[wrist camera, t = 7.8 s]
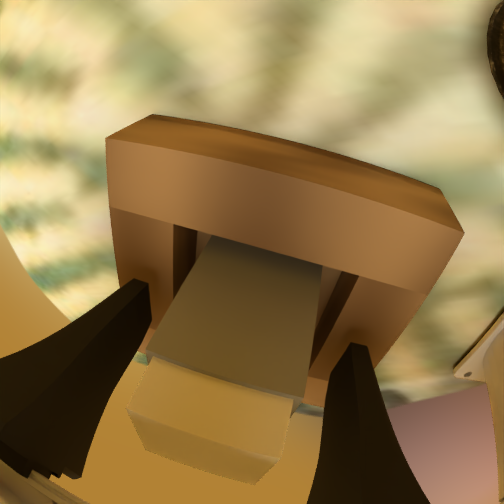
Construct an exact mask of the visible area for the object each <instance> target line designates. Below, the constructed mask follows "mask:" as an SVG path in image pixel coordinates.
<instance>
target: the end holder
mask: <svg viewBox="0 0 504 504" xmlns="http://www.w3.org/2000/svg"><path fill="white" fill-rule="evenodd" d="M105 141H106V166H107V183H108V196H109V208H110V218H111V227H112V236H113V244H114V252H115V259H116V266H117V273H118V279H119V285H120V288H121V287H122V286H123V285H125V284H126V283H128V282H129V281H130V280H132V279H133V278H135V279H138V280H141V281H144V282H147V283H149V292H150V303H151V313H152V322H151V324H150V326H149V329H148V331H147V333H146V335H145V337H144V339H143V342H142V344H141V345H140V347H139V349H138V350H137V351H139V352H142V353H144V354H146V351H145V349H146V347H147V345H148V343H149V341H150V340H151V338H152V336H153V334H154V333H155V331H156V329H157V327H158V326H159V324H160V322H161V320H162V319H163V317H164V315H165V313H166V312H167V310H168V308H169V307H170V305H171V303H172V301H173V300H174V298H175V296H176V295H177V293H178V291H179V289H180V288H181V286H182V284H183V283H184V281H185V279H186V278H187V276H188V274H189V273H190V271H191V269H192V268H193V266H194V264H195V263H196V261H197V259H198V258H199V256H200V254H201V253H202V251H203V249H204V248H205V246H206V244H207V243H208V241H209V239H210V238H211V236H212V235H215V236H219V237H223V238H226V239H230V240H234V241H237V242H241V243H244V244H248V245H252V246H255V247H259V248H262V249H266V250H270V251H273V252H277V253H280V254H284V255H287V256H291V257H295V258H298V259H302V260H305V261H309V262H312V263H316V264H320V265H323V267H322V276H321V285H320V293H319V301H318V309H317V316H316V324H315V331H314V338H313V345H312V351H311V358H310V364H309V370H308V377H307V382H306V388H305V394H304V398H303V400H302V401H301V402H302V403H306V404H310V405H315V406H320V407H324V405H325V397H326V392H327V387H328V382H329V377H330V373H331V371H332V370H333V368H334V367H335V365H336V364H337V362H338V361H339V359H340V358H341V356H342V355H343V353H344V352H345V350H346V349H347V347H348V345H349V344H350V342H353V343H357V344H361V345H365V346H367V347H368V349H369V353H370V357H371V361H372V364H373V368H375V367H376V366H377V364H378V363H379V362H380V361H381V359H382V358H383V357H384V356H385V354H386V353H387V352H388V350H389V349H390V348H391V346H392V345H393V344H394V343H395V341H396V340H397V339H398V337H399V336H400V334H401V333H402V332H403V330H404V329H405V328H406V326H407V325H408V323H409V322H410V321H411V319H412V318H413V316H414V315H415V313H416V312H417V310H418V309H419V308H420V306H421V305H422V303H423V302H424V300H425V299H426V297H427V296H428V294H429V292H430V291H431V289H432V288H433V286H434V285H435V283H436V281H437V280H438V278H439V277H440V275H441V273H442V272H443V270H444V268H445V267H446V265H447V263H448V262H449V260H450V258H451V257H452V255H453V253H454V251H455V250H456V248H457V246H458V244H459V243H460V241H461V239H462V237H463V235H464V231H463V229H462V227H461V225H460V223H459V222H458V220H457V218H456V216H455V214H454V213H453V211H452V209H451V207H450V205H449V204H448V202H447V200H446V199H445V197H444V195H443V194H442V192H441V190H440V189H438V188H436V187H433V186H431V185H428V184H425V183H423V182H420V181H417V180H415V179H412V178H409V177H407V176H404V175H401V174H398V173H395V172H393V171H390V170H387V169H384V168H381V167H378V166H375V165H372V164H369V163H366V162H362V161H359V160H356V159H353V158H350V157H346V156H343V155H340V154H336V153H333V152H329V151H326V150H322V149H319V148H315V147H311V146H308V145H304V144H300V143H296V142H292V141H288V140H284V139H280V138H276V137H272V136H268V135H263V134H259V133H255V132H250V131H245V130H241V129H236V128H231V127H226V126H221V125H216V124H210V123H205V122H199V121H193V120H187V119H181V118H174V117H168V116H161V115H154V114H152V115H150V116H148V117H146V118H143V119H141V120H139V121H137V122H135V123H133V124H131V125H129V126H127V127H125V128H123V129H122V130H120V131H118V132H116V133H114V134H112V135H110V136H108V137H107V138H105Z"/></svg>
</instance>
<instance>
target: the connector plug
mask: <svg viewBox="0 0 504 504" xmlns="http://www.w3.org/2000/svg"><path fill="white" fill-rule="evenodd" d="M322 267H323V265H320V264H316V263H312V262H309V261H305V260H302V259H298V258H295V257H291V256H287V255H284V254H280V253H277V252H273V251H270V250H266V249H262V248H259V247H255V246H252V245H248V244H244V243H241V242H237V241H234V240H230V239H226V238H223V237H219V236H215V235H212V236H211V238H210V239H209V241H208V243H207V244H206V246H205V248H204V249H203V251H202V253H201V254H200V256H199V258H198V259H197V261H196V263H195V264H194V266H193V268H192V269H191V271H190V273H189V274H188V276H187V278H186V279H185V281H184V283H183V284H182V286H181V288H180V289H179V291H178V293H177V295H176V296H175V298H174V300H173V301H172V303H171V305H170V307H169V308H168V310H167V312H166V313H165V315H164V317H163V319H162V320H161V322H160V324H159V326H158V327H157V329H156V331H155V333H154V334H153V336H152V338H151V340H150V341H149V343H148V345H147V347H146V349H145V351H146V356H147V361H148V367H147V369H146V371H145V372H144V374H143V376H142V378H141V380H140V382H139V384H138V386H137V388H136V390H135V392H134V394H133V395H132V397H131V399H130V401H129V403H128V405H127V407H126V409H127V411H128V414H129V416H130V418H131V420H132V423H133V424H134V427H135V429H136V431H137V433H138V435H139V437H140V439H141V441H142V443H143V445H144V447H145V449H146V450H148V451H150V452H153V453H155V454H157V455H160V456H163V457H165V458H168V459H170V460H173V461H176V462H179V463H182V464H184V465H187V466H190V467H193V468H197V469H199V470H202V471H206V472H209V473H212V474H215V475H219V476H222V477H226V478H229V479H233V480H237V481H241V482H245V483H249V484H253V485H255V484H256V483H257V482H258V481H259V480H260V479H261V478H262V477H263V476H264V475H265V474H266V473H267V472H268V471H269V470H270V469H271V468H272V467H273V466H274V465H275V464H276V463H277V462H278V461H279V460H280V459H281V456H282V451H283V447H284V442H285V437H286V433H287V429H288V424H289V419H290V418H291V416H292V414H293V413H294V412H295V410H296V409H297V407H298V406H299V404H300V403H301V401H302V400H303V398H304V394H305V388H306V382H307V377H308V370H309V364H310V358H311V351H312V345H313V338H314V331H315V324H316V316H317V309H318V301H319V293H320V285H321V276H322Z"/></svg>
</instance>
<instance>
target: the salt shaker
mask: <svg viewBox="0 0 504 504" xmlns="http://www.w3.org/2000/svg"><path fill="white" fill-rule="evenodd" d="M487 47H488V57H489V62H490V66H491V71H492V74H493V77H494V79H495V81H496V84H497V86H498V89H499V91H500V93H501V95H502V96H503V98H504V0H503V1H502V2H500V3H499V4H498V5H497V6H496V8H495V10H494V12H493V14H492V16H491V18H490V22H489V28H488V33H487Z"/></svg>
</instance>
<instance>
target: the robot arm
mask: <svg viewBox="0 0 504 504" xmlns="http://www.w3.org/2000/svg"><path fill="white" fill-rule="evenodd" d="M151 322H152V313H151V303H150V292H149V283H147V282H144V281H141V280H138V279H135V278H133V279H132V280H130V281H129V282H128V283H126V284H125V285H123V286H122V287H121V288H119V289H118V290H117V291H115V292H114V293H113V294H111V295H110V296H109V297H107V298H106V299H105V300H103V301H102V302H101V303H99V304H98V305H96V306H95V307H94V308H92V309H91V310H89V311H88V312H87V313H85V314H84V315H82V316H81V317H79V318H78V319H76V320H75V321H73V322H72V323H70V324H69V325H67V326H66V327H64V328H62V329H61V330H59V331H57V332H56V333H54V334H52V335H50V336H49V337H47V338H45V339H43V340H41V341H39V342H37V343H35V344H33V345H31V346H29V347H27V348H25V349H23V350H21V351H18V352H16V353H14V354H11V355H8V356H6V357H3V358H0V504H89V503H87V502H85V501H84V500H82V499H80V498H79V497H77V496H75V495H73V494H72V493H70V492H68V491H66V490H65V489H63V488H61V487H60V486H58V485H57V484H55V483H54V482H52V481H50V480H49V478H50V476H51V474H52V475H54V476H56V477H57V478H60V476H61V474H62V473H63V474H65V475H66V476H68V477H70V478H72V479H78V478H80V477H82V472H83V469H84V465H85V462H86V458H87V454H88V452H89V449H90V446H91V443H92V440H93V437H94V434H95V431H96V429H97V426H98V424H99V421H100V419H101V416H102V414H103V412H104V409H105V407H106V405H107V402H108V400H109V398H110V396H111V394H112V392H113V390H114V389H115V387H116V385H117V383H118V382H119V380H120V378H121V377H122V375H123V373H124V372H125V370H126V368H127V367H128V365H129V364H130V362H131V360H132V359H133V357H134V355H135V354H136V352H137V350H138V349H139V347H140V345H141V344H142V342H143V339H144V337H145V335H146V333H147V331H148V329H149V326H150V324H151ZM453 372H454V376H455V377H457V378H462V379H468V380H475V381H482V382H486V383H487V388H488V394H489V399H490V405H491V411H492V418H493V425H494V433H495V442H496V452H497V463H498V484H499V502H501V503H500V504H504V312H503V314H502V315H501V316H500V317H499V319H498V320H497V321H496V322H495V324H494V325H493V326H492V327H491V328H490V330H489V331H488V332H487V333H486V334H485V335H484V337H483V338H482V339H481V340H480V341H479V342H478V343H477V345H476V346H475V347H474V348H473V349H472V350H471V351H470V352H469V353H468V354H467V356H466V357H465V358H464V359H463V360H462V361H461V362H460V363H459V364H458V365H457V366H456V367H455V368H454V370H453ZM307 504H430V502H429V500H428V499H427V497H426V496H425V494H424V492H423V491H422V489H421V487H420V485H419V484H418V482H417V480H416V478H415V476H414V474H413V473H412V471H411V469H410V467H409V465H408V463H407V461H406V459H405V456H404V454H403V452H402V450H401V447H400V445H399V443H398V441H397V438H396V436H395V433H394V430H393V428H392V425H391V422H390V419H389V417H388V414H387V411H386V408H385V404H384V401H383V398H382V395H381V392H380V389H379V385H378V382H377V378H376V375H375V371H374V368H373V364H372V361H371V357H370V353H369V349H368V347H367V346H365V345H361V344H357V343H353V342H350V344H349V345H348V347H347V349H346V350H345V352H344V353H343V355H342V356H341V358H340V359H339V361H338V362H337V364H336V365H335V367H334V368H333V370H332V371H331V373H330V377H329V382H328V387H327V392H326V397H325V405H324V416H323V426H322V435H321V444H320V453H319V459H318V464H317V468H316V472H315V476H314V480H313V484H312V488H311V491H310V494H309V498H308V501H307Z"/></svg>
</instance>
